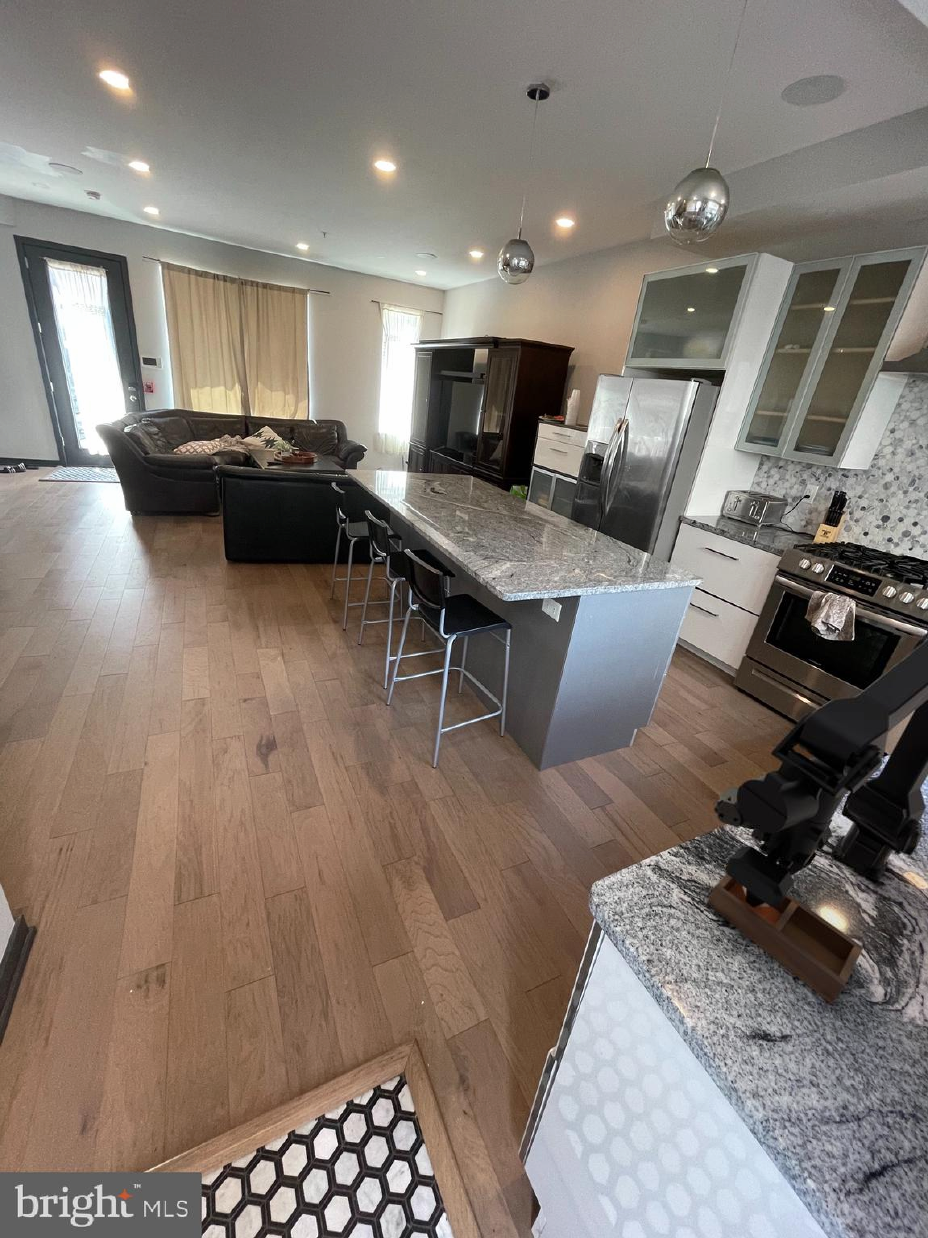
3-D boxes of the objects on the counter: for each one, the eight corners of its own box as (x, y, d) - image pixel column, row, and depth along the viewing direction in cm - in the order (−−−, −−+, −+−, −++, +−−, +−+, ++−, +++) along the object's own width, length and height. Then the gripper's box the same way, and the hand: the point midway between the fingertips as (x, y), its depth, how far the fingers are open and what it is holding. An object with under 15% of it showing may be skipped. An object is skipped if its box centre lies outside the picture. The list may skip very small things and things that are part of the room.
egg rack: (731, 876, 75) (740, 859, 73) (851, 965, 64) (863, 947, 63) (706, 904, 70) (714, 886, 68) (831, 1005, 59) (844, 986, 58)
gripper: (766, 746, 73) (729, 827, 79) (706, 793, 62) (668, 884, 68) (854, 794, 66) (806, 879, 72) (804, 857, 54) (752, 953, 60)
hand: (757, 895), depth 68 cm, fingers closed on egg, 4 cm apart
